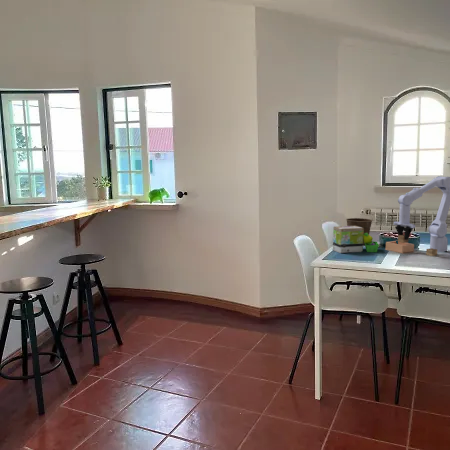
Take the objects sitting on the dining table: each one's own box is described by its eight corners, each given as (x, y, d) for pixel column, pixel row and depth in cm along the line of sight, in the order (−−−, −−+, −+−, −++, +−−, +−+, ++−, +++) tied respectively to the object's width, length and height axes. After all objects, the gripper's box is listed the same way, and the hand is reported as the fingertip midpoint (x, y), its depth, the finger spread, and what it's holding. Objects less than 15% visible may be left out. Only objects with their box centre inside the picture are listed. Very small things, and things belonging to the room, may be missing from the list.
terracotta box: (397, 248, 281) (397, 240, 281) (413, 252, 270) (414, 244, 269) (385, 249, 278) (385, 242, 277) (402, 253, 266) (402, 245, 265)
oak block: (431, 255, 264) (431, 248, 263) (437, 256, 260) (437, 249, 260) (426, 255, 262) (426, 248, 262) (431, 257, 259) (432, 250, 258)
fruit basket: (379, 253, 269) (379, 234, 268) (363, 253, 271) (363, 234, 270) (376, 249, 280) (377, 231, 279) (361, 249, 282) (362, 231, 281)
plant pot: (368, 242, 306) (369, 217, 303) (374, 246, 290) (375, 221, 287) (343, 241, 307) (344, 217, 305) (347, 246, 291) (348, 221, 289)
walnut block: (403, 241, 273) (403, 234, 272) (408, 242, 269) (408, 235, 269) (398, 241, 271) (398, 235, 271) (403, 242, 268) (403, 236, 267)
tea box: (340, 253, 271) (341, 228, 269) (332, 250, 281) (332, 226, 278) (363, 251, 275) (364, 227, 273) (354, 248, 285) (355, 225, 282)
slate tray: (398, 248, 283) (398, 247, 283) (420, 253, 268) (421, 252, 268) (383, 250, 278) (383, 249, 278) (405, 255, 263) (405, 254, 263)
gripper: (390, 214, 273) (389, 237, 275) (409, 217, 260) (408, 241, 262) (399, 214, 276) (398, 236, 278) (418, 216, 263) (417, 240, 265)
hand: (403, 238), depth 270 cm, fingers closed on walnut block, 4 cm apart
